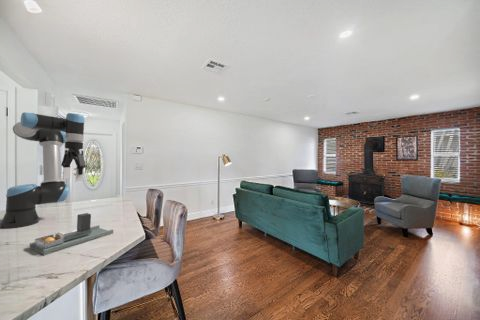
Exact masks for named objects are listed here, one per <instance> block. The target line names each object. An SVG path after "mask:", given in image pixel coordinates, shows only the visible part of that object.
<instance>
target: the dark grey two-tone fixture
mask: <svg viewBox="0 0 480 320" xmlns="http://www.w3.org/2000/svg"><path fill="white" fill-rule="evenodd" d="M91 219H92V214H91V213H89V212H86V213H80V214H77V219H76V220H77V221H76V230H75V231H70V232H68V233H64V234H63V233H61V232H55V234H54V237H55V240H58V239H63V243H64V241H66V240H69V239H73V238H76V237H80V236H83V235H87V234H90V233H91V228H90V227H91V223H92V222H91V221H92V220H91Z"/></svg>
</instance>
